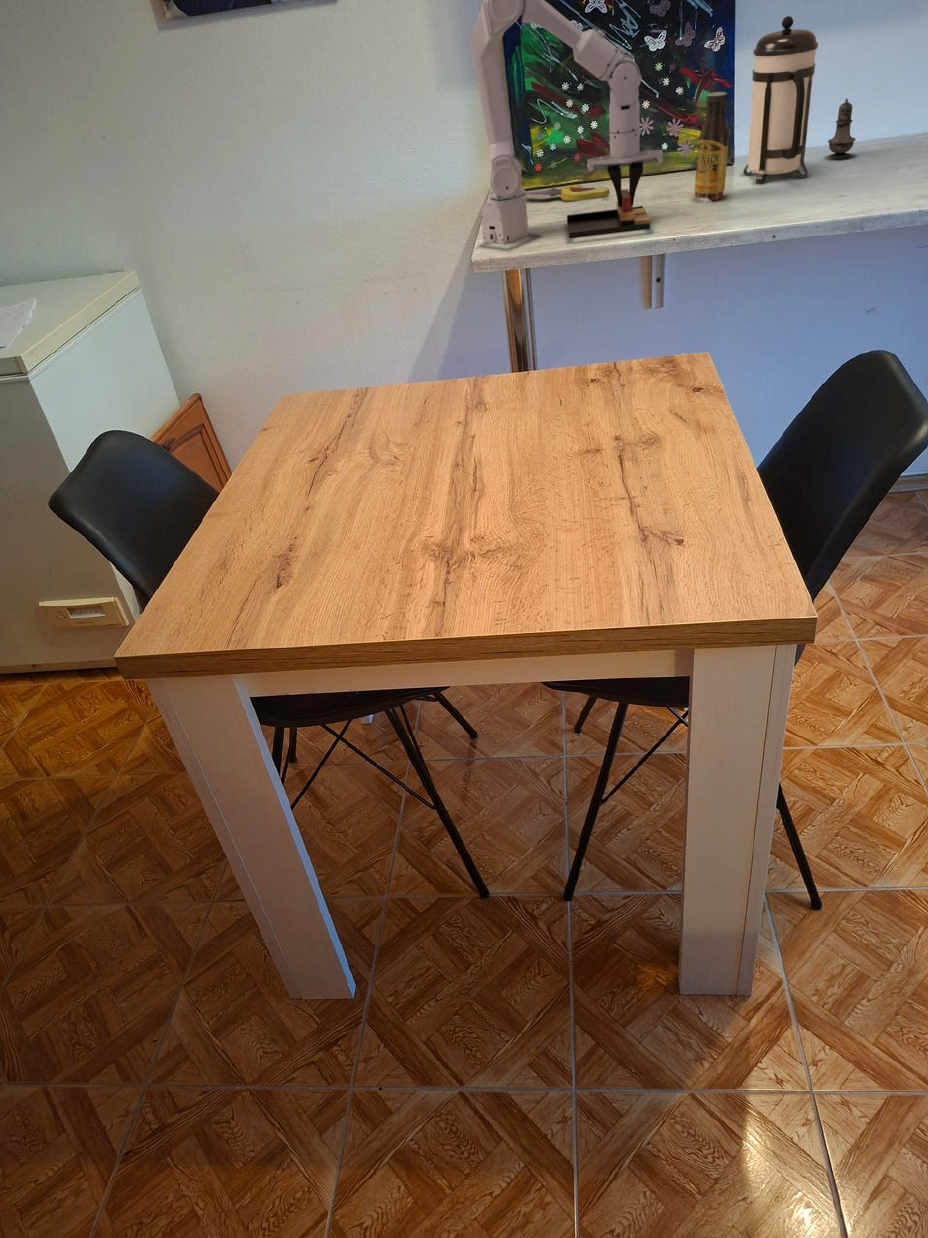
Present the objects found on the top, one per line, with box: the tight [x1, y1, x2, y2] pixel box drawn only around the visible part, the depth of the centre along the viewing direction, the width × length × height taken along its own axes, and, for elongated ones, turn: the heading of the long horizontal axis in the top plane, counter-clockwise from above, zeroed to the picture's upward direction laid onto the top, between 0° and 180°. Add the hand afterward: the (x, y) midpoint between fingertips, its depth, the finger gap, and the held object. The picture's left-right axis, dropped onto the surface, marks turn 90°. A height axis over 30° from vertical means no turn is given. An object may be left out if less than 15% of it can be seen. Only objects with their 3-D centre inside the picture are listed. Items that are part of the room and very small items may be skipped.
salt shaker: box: [827, 97, 856, 161], centre depth 199 cm, size 6×6×12 cm
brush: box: [615, 188, 635, 226], centre depth 178 cm, size 3×10×5 cm, turn 177°
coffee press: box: [742, 15, 819, 185], centre depth 187 cm, size 17×16×30 cm
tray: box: [566, 205, 651, 239], centre depth 180 cm, size 16×14×2 cm
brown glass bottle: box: [694, 91, 730, 202], centre depth 183 cm, size 6×6×20 cm
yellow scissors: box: [525, 184, 611, 203], centre depth 205 cm, size 8×3×25 cm
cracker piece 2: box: [634, 214, 650, 224], centre depth 176 cm, size 3×4×1 cm
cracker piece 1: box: [634, 207, 648, 216], centre depth 181 cm, size 3×4×1 cm
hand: (625, 205), depth 177 cm, fingers closed on brush
